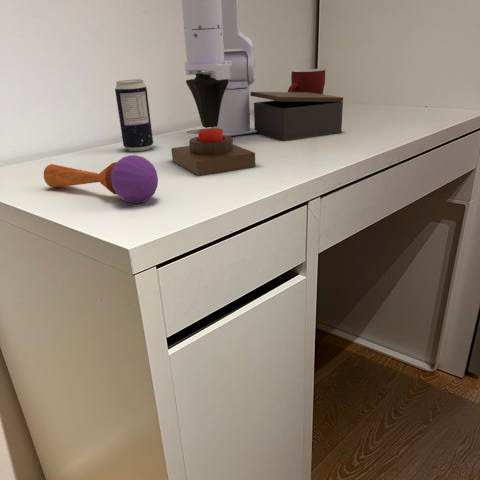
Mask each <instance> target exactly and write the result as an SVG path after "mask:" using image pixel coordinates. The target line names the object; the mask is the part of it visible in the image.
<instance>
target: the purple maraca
mask: <svg viewBox="0 0 480 480" xmlns="http://www.w3.org/2000/svg"><path fill="white" fill-rule="evenodd" d="M43 181H44V182H45V184H46V185H47V186H49V187H50V188H62V187H63V188H64V187H70V186H80V185H87V184H96V183H100V185H102V186H103V187H104V188H105V189H107V190H108V191H109V192H111V193H112V194H113V195H116V196H119V197H120V198H121V199H122V200H124V201H125V202H126V203H133V204H141V203H143V202H146V201H147V200H150V199H151V198H152V197H153V196H154V195H155V193H156V191H157V189H158V185H159V176H158V172H157V170H156V167H155V165H154V164H153V163H152V162H151V161H150V160H149V159H147V158H145V157H144V156H140V155H135V154H132V155H131V154H130V155H125V156H123V157H122V158H120V159H119V160H117V161H115V162H112V163H111V164H109V165H107V166H106V167H105V168H104V169H103V170H101V171H100V172H99V173H98V172H92V171H88V170H83V169H78V168H73V167H68V166H63V165H58V164H54V163H51V164H48V165H47V166H45V168H44V170H43Z"/></svg>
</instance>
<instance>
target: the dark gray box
mask: <svg viewBox="0 0 480 480" xmlns="http://www.w3.org/2000/svg"><path fill="white" fill-rule="evenodd" d="M343 108H344V101H343V102H280V101H275V100H265V101H257V102H253V121H254V124H253V125H254V126H253V127H254V129H255V130H258V132H257V133H258V134H261V135H264V136H267V137H270V138H274V139H277V140H280V141H283V142H285V141H291V140H292V141H293V140H298V139H307V138H313V137H321V136H326V135H327V136H328V135H333V134H341V133H342V131H343V130H342V127H343V126H342V125H343V111H344V110H343Z"/></svg>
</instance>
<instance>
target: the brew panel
mask: <svg viewBox="0 0 480 480" xmlns="http://www.w3.org/2000/svg"><path fill="white" fill-rule="evenodd" d="M233 140H234V139H233V136H226V135H223V140H221V141H213V142H202V141H199V138H198V136H196V137H191V138H190V139H189V142H188V143H189V145H184V146H176V147H171V148H170V150H171V158H172V159H171V160H172V162H173V163H175V164H177V165H178V166H180V167H182V168H184V169H185V170H187V171H189V172H191V173H193V174H194V175H195V176H206V175H211V174H216V173H217V174H219V173H225V172H230V171H236V170H242V169H243V170H244V169H249V168H255V167H256V152H254V151H252V150H249V149H246V148H244V147H241V146H239V145H236V144H234V142H233Z"/></svg>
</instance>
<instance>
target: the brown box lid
mask: <svg viewBox="0 0 480 480" xmlns="http://www.w3.org/2000/svg"><path fill="white" fill-rule="evenodd" d="M249 97H253V98H254V97H255V98H260V99H265V100H269V101H274V100H275V101H280V102H343V103H344V97H343V96H335V95H330V94H329V95H328V94H324V93H323V94H316V93H310V92H288V91H250V93H249Z"/></svg>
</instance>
